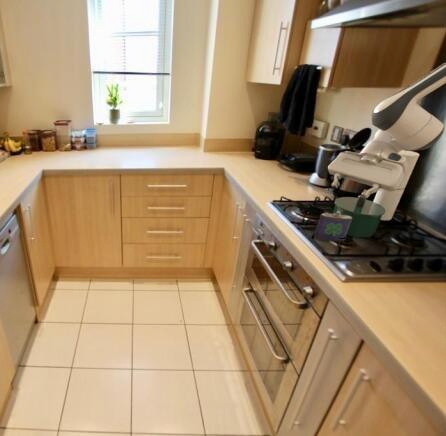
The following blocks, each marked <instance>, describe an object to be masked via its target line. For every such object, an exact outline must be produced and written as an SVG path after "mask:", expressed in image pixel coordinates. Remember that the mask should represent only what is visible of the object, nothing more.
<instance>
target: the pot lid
mask: <svg viewBox="0 0 446 436" xmlns="http://www.w3.org/2000/svg"><path fill="white" fill-rule="evenodd" d="M334 204H336V206H338V207H339V208H341V209H343V210H345V211H347V212H350V213H354V214H358V215H364V216H380V215H383V214H384V213H385V208H384V207H382V206H381V205H379V204H377V203H375V202H373V201H372V200H369V199H368V198H365V197H363V196H362V195H361V194H359V195H358V196H357V197H352V196H342V197H338V198H336V199H335V200H334Z"/></svg>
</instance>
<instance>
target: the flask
mask: <svg viewBox="0 0 446 436" xmlns="http://www.w3.org/2000/svg"><path fill="white" fill-rule="evenodd" d="M341 214H342V213H341ZM351 220H352V217H350V216H347V215H340V211H337V213H334V214H332V213H329V212H324V213H321V214H320V215H319V218H318V223H317V226H316V229H315V231H314V235H313V237H314V239H316V240H320V241H326V242H339V243H342V242H344V241H345V240H346V237H347V235H346V234H347V231H348V229H349V226H350V223H351ZM344 237H345V239H338V238H344Z"/></svg>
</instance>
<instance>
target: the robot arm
mask: <svg viewBox="0 0 446 436" xmlns="http://www.w3.org/2000/svg"><path fill="white" fill-rule="evenodd" d="M445 84H446V61H445V62H444V63H441V64H440V65H439V66H437V67H436V68H435V69H433V70H431V71H430V72H428V73H426V74H425V75H423V76H422V77H420V78H419V79H417V80H416V81H414V82H412V83H410V84H409V85H407V86H406V87H405V88H403V89H401V90H400V91H398V92H396V93H394V94H392V95H391V96H388V97H387V98H385V99H384V100H383V101H382V100H381V102H380V103H378V104H377V105H376V106H375V107H374V108H373V110H372V111H371V125H372V126H374V127H375V128H377V131H376V133H375V134H374V137H373V138H372V139H371V140H370V141H368V142H367V143H366V144H365V146H364V147H363V148H362V149H361V151H360V152H354V151H350V150H346V151H341V152H339V154H338V155H337V156H336V157H335V158H334V159H333V160H332V161H331V163H329V165H328V166H327V170H328V173H329V175H332V176H333V182H332V183H331V187H332V188H335V189H338V188H339V186H340V185H341V184H340V181H339V180H341V179H346V180H349V181H353V182H356V183H360V184H363V185H365V186H369V187H371V188H369V189H363V191H362V192H361V194H360V195H362V196H363V197H365V198H367V199H368V198H369V197H370V195H372V194H374V193H377V191H378V190H379V189H383V190H387V191H394V190H396V189H397V188H398V187H399V185H400V184H401V182H402V180H403V179H404V173H405V172H406V171H407V169H408V164H407V160H406V158H405V157H404V156H402V155H400V154H398V153H399V152H400V151H402V150H404V151H412V152H417V151H423V150H427V149H430V148H431V147H433V146H434V145H435V144H436V143H437V142H438V141H439V140H440V139H441V137H442V135H443V134H444V131H445V124H444V123H443V122H442V121H441V120H440V119H438V118H437V117H436V116H434V115H433V114H432V113H429V111H427V110H426V109H424V108H423V107H422V106H420V105H419V104H418V103H417V102H418V101H419V100H421V99H422V98H424V97H425V96H427V95H428V94H430V93H432V92H434V91H436V90H437V89H438V88H440V87H441V86H443V85H445Z"/></svg>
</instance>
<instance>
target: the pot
mask: <svg viewBox="0 0 446 436" xmlns="http://www.w3.org/2000/svg"><path fill="white" fill-rule="evenodd" d="M334 204H335V203H334ZM337 211H340V215H347V216H350V217H352V220H351V223H350V226H349V229H348V231H347V234H346V236H350V237H355V238H371V237H373V236H374V235H375V233H376V231H377V229H378V226H379V224H380V222H381V220H380V219H381V217H382V215H380V216H364V215H358V214H354V213H350V212H347V211H345V210H343V209H341V208H339V207H338V206H336V204H335V205H334V207H333V211H332V213H331V214H334V213H337ZM341 213H342V214H341Z"/></svg>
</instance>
